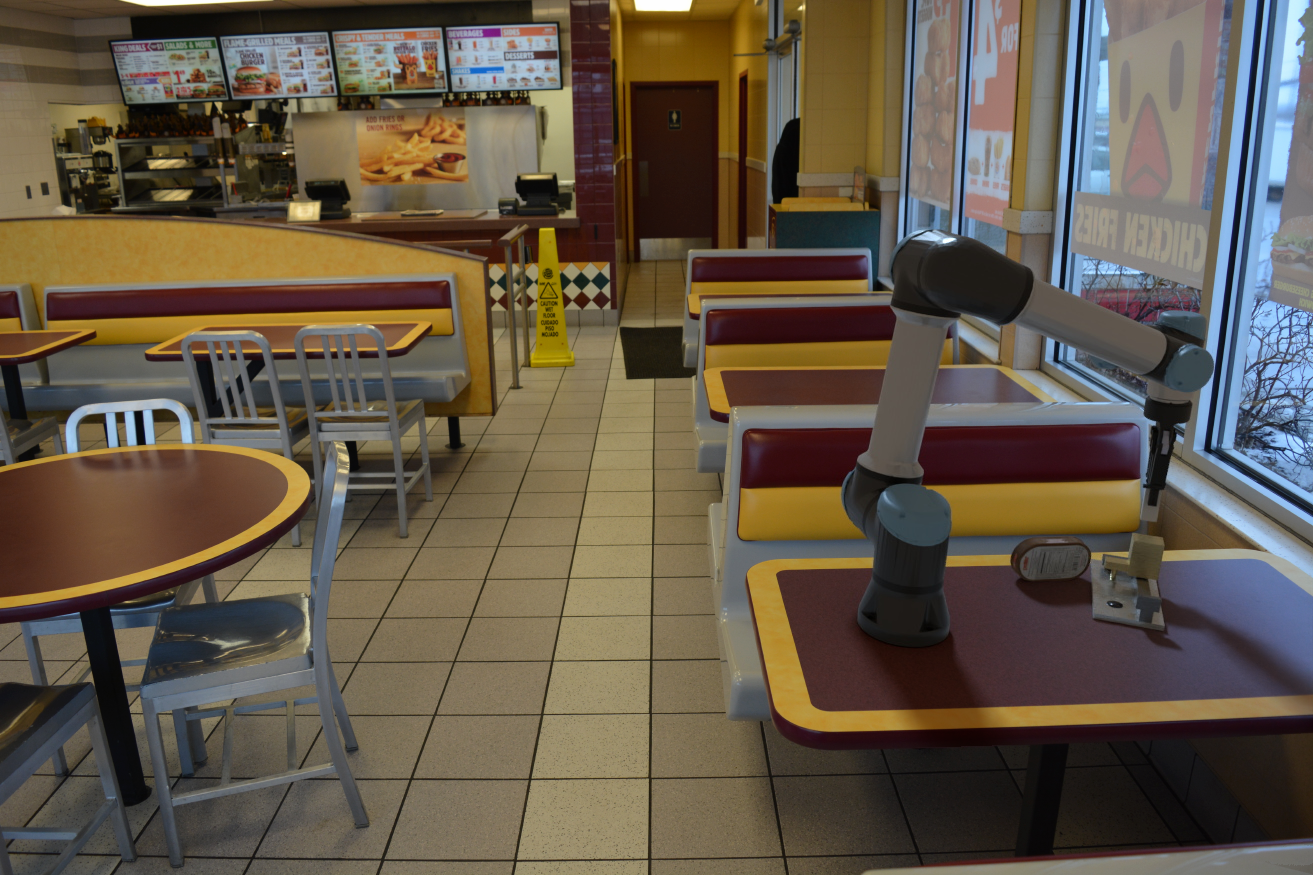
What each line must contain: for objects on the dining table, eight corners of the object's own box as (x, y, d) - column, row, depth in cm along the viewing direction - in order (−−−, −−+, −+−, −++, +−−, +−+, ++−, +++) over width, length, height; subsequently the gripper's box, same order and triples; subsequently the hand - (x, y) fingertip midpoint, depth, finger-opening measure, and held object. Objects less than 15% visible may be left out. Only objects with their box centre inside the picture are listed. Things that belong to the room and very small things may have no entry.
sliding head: (1102, 582, 176) (1110, 537, 173) (1102, 573, 180) (1109, 529, 177) (1155, 591, 173) (1164, 545, 170) (1154, 582, 176) (1162, 537, 174)
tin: (1081, 573, 183) (1088, 533, 180) (1090, 581, 180) (1097, 540, 177) (1006, 577, 181) (1012, 536, 178) (1014, 584, 178) (1020, 543, 175)
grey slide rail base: (1104, 614, 165) (1108, 590, 163) (1100, 560, 186) (1104, 538, 185) (1156, 624, 162) (1161, 599, 160) (1147, 567, 183) (1151, 545, 182)
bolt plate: (1092, 618, 166) (1093, 612, 165) (1090, 563, 187) (1091, 558, 187) (1163, 631, 162) (1164, 625, 161) (1153, 573, 183) (1154, 568, 183)
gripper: (1197, 409, 164) (1174, 535, 172) (1189, 391, 176) (1167, 510, 183) (1148, 405, 167) (1127, 529, 174) (1143, 387, 179) (1124, 504, 186)
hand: (1148, 519), depth 179 cm, fingers closed
